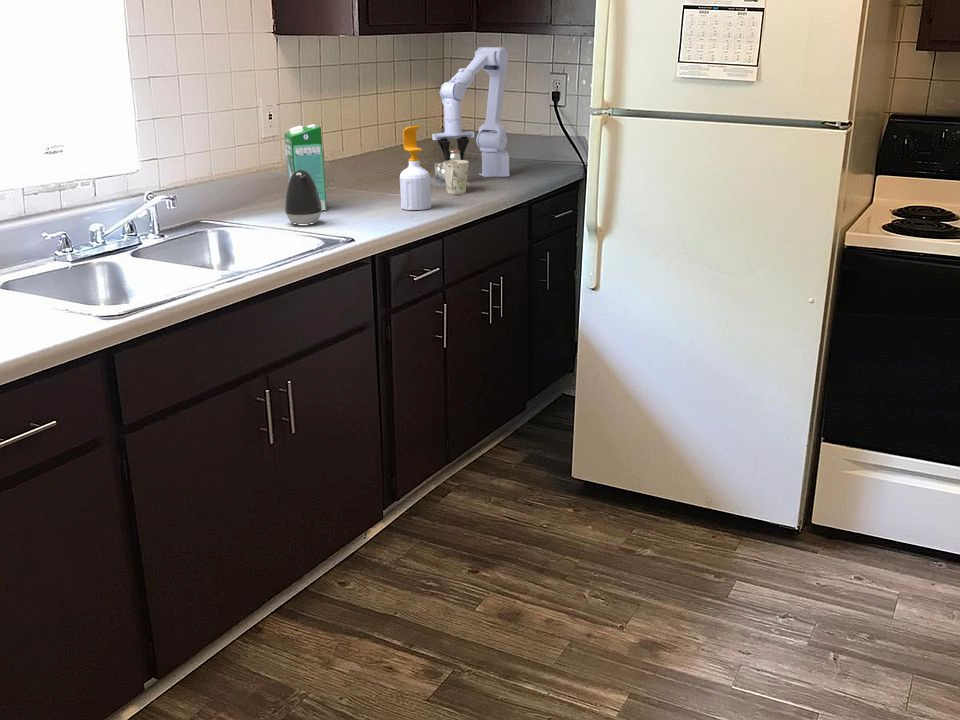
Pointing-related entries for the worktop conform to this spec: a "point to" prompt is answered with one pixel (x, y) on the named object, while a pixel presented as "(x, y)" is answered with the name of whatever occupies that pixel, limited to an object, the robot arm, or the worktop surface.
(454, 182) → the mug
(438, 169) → the tin left
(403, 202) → the soap bottle
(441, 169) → the tin middle
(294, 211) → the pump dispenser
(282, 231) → the worktop surface
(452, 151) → the cylinder
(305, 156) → the milk carton
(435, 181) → the slate board
